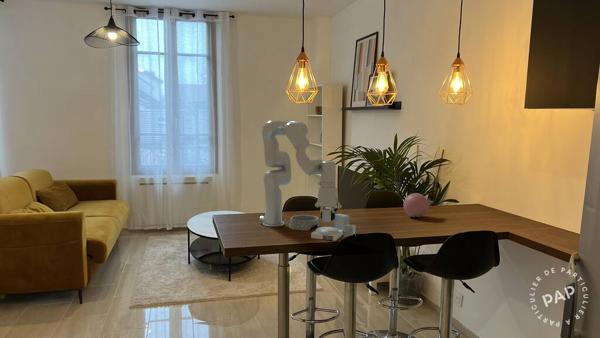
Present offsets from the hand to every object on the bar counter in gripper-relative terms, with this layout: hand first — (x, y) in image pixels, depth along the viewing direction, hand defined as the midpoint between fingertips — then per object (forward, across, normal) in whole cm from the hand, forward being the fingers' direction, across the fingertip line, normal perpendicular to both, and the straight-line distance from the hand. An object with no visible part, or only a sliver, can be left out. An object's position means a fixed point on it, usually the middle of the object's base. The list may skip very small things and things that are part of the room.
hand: (327, 219), depth 219 cm
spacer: (+9, +11, +4) cm, 15 cm away
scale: (+9, 0, 0) cm, 9 cm away
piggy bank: (+9, +38, +69) cm, 79 cm away
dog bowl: (+9, -19, +16) cm, 26 cm away
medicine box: (+9, +3, +15) cm, 18 cm away
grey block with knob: (+1, 0, 0) cm, 1 cm away
